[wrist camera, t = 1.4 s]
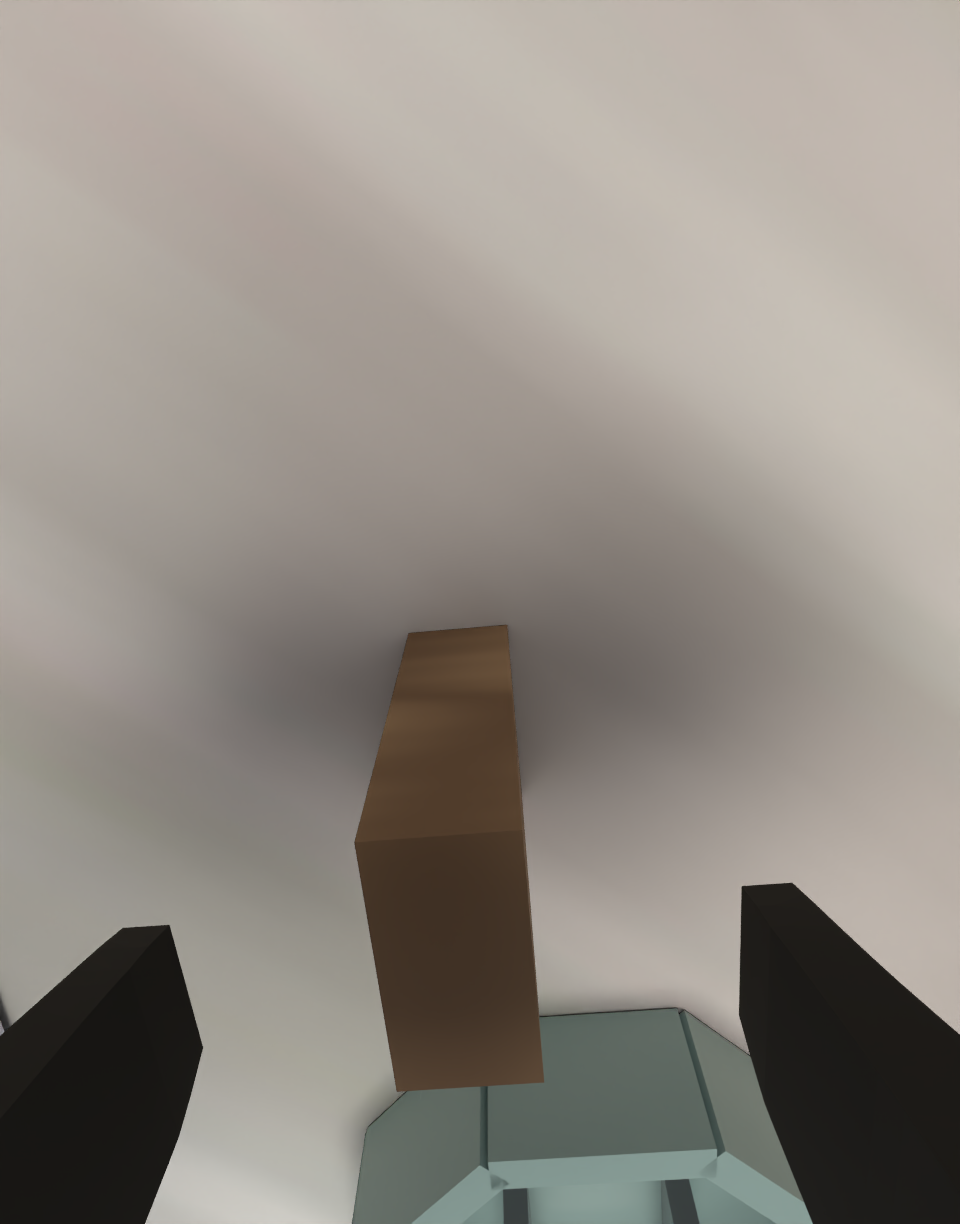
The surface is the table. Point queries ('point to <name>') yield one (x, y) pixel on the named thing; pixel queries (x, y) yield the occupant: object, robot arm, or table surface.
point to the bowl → (589, 1137)
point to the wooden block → (451, 870)
